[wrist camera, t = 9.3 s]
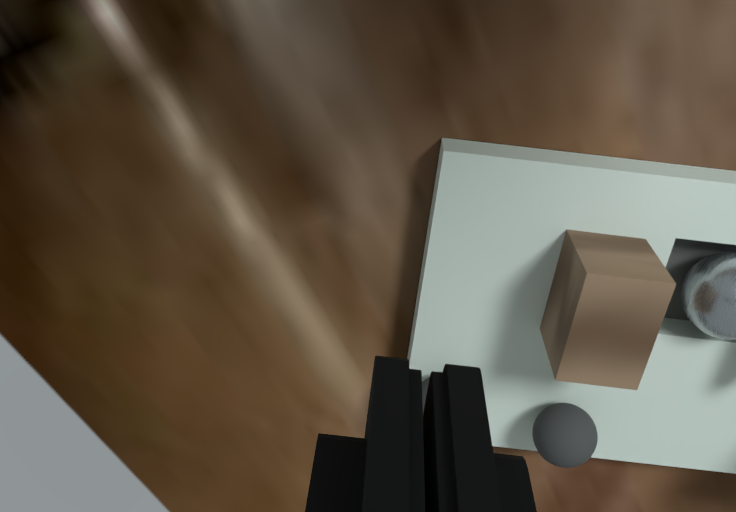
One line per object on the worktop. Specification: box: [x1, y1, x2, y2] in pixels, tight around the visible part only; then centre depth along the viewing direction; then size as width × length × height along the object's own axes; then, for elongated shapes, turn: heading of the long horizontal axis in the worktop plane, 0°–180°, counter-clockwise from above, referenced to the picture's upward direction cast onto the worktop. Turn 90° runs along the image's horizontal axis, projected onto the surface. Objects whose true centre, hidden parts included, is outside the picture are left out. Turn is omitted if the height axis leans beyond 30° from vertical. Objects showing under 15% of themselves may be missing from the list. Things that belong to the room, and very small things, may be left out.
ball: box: [532, 403, 598, 468], centre depth 38 cm, size 4×4×4 cm
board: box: [407, 138, 736, 474], centre depth 37 cm, size 18×22×5 cm
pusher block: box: [540, 229, 676, 390], centre depth 34 cm, size 6×4×4 cm, turn 174°
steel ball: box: [681, 252, 736, 340], centre depth 35 cm, size 4×4×4 cm
